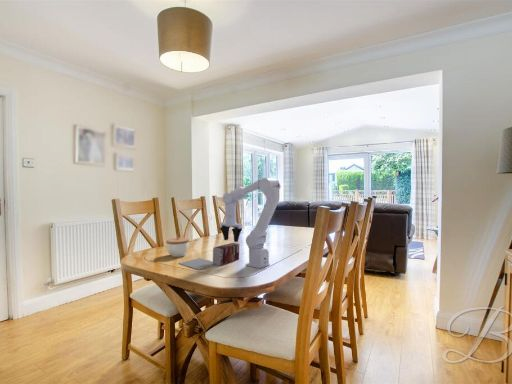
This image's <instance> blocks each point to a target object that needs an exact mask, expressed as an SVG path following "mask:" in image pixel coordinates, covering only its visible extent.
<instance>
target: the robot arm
mask: <svg viewBox="0 0 512 384" xmlns="http://www.w3.org/2000/svg"><path fill="white" fill-rule="evenodd" d="M257 190H260V192H261V193H263V195H264V196H265V198H266V202H265V204H264V206H263V209H262V210H261V213H260V214H259V217H258V220H257V222H256V225H255V227H254V228H253V229H252V230H251V231H250V233H249V234H248V235H247V236H246V238H245V244H246V245H247V247H248V262H247V263H245V266H249V267H252V268H257V269H262V268H264V267H267V266H270V261H269V257H270V255H269V250H268V249H267V248H265V247H264V246H265V243H266V242H267V235H268V233H267V229H268V226H269V225H270V222H271V220H272V217H273V216H274V214H275V211H276V209H277V206H278V204H279V202H280V190H281V184H280V182H279V180H278V179H277V178H274V177H273V178H271V177H269V178H268V177H262V178H260V179H257V180H255V181H254V182H252V183H251V184H249V185H247V186H246V187H243V186H237V188H235V189H234V190H231V191H230V192H224V194H223V195H222V201H223V203H224V208H225V209H224V215H225V216H224V217H225V218H224V221H225V222H220V227H219V230H220V231H221V233H222V236H223V240H224V241H228V240H229V236H230V235H229V233H230V229H231V228H232V229H231V231H232V234H233V243H237V242H238V243H239V238H240V234H241V232H242V230H243V224H240V223H237V204H238V201H240V200H243V199H244V198H246V197H247V196H248V194H249V193H252V192H254V191H257Z"/></svg>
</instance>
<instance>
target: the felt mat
mask: <svg viewBox="0 0 512 384" xmlns="http://www.w3.org/2000/svg"><path fill="white" fill-rule="evenodd" d="M178 265H181V266H184V267H187V268H190V269H193V270H196V271H200V270H204V269H207V268H211V267H214V266H216V265H215V264H213V260H212V261H211V260H209V259H205V258H201V257H198V258H194V259H191V260H186V261H182V262H178Z"/></svg>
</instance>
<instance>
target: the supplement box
mask: <svg viewBox="0 0 512 384" xmlns="http://www.w3.org/2000/svg"><path fill="white" fill-rule="evenodd" d="M239 259H240V243H237V242H229V243H226V244H222V245H218V246H214V247H213V249H212V261H213V264H215V266H218V267H220V266H223V265H226V264H228V263H232V262H234V261H238V260H239Z"/></svg>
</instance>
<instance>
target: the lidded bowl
mask: <svg viewBox="0 0 512 384" xmlns="http://www.w3.org/2000/svg"><path fill="white" fill-rule="evenodd" d="M189 246H190V238H187V237H179V236H176V237H174V238H169V239H166V249H167V252H168V254H169V255H170V256H171V257H173V258H180V257H184V256H185V255H186V254H187V253H188V251H189Z"/></svg>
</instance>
